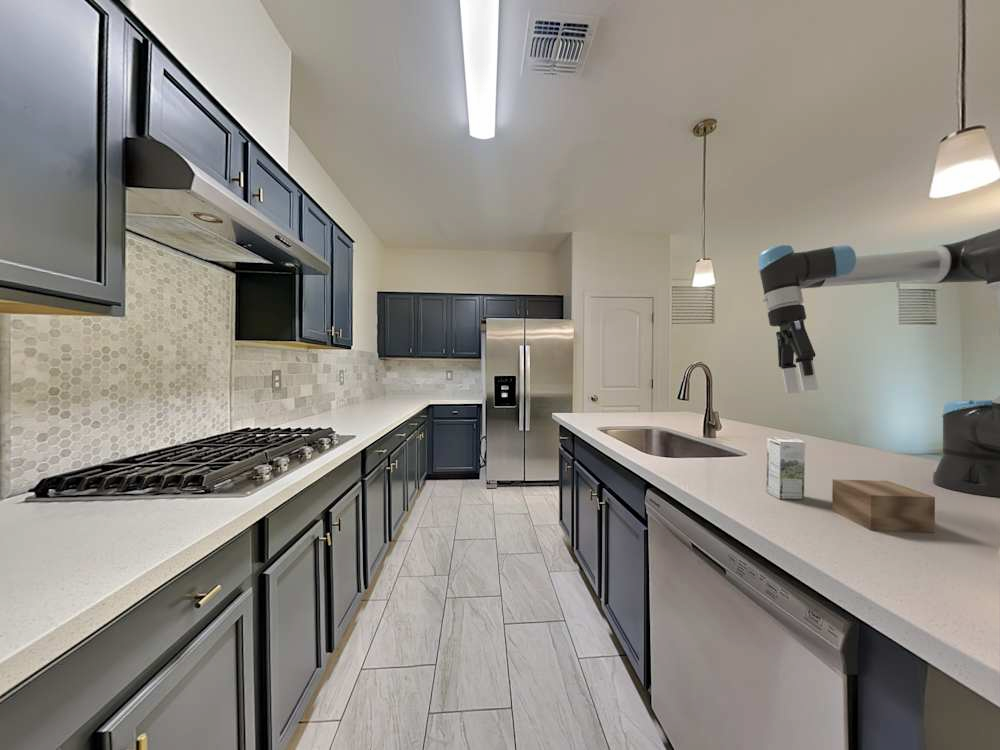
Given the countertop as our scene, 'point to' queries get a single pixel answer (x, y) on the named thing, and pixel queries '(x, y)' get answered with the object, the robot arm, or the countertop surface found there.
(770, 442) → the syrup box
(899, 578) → the countertop surface
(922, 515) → the walnut block
